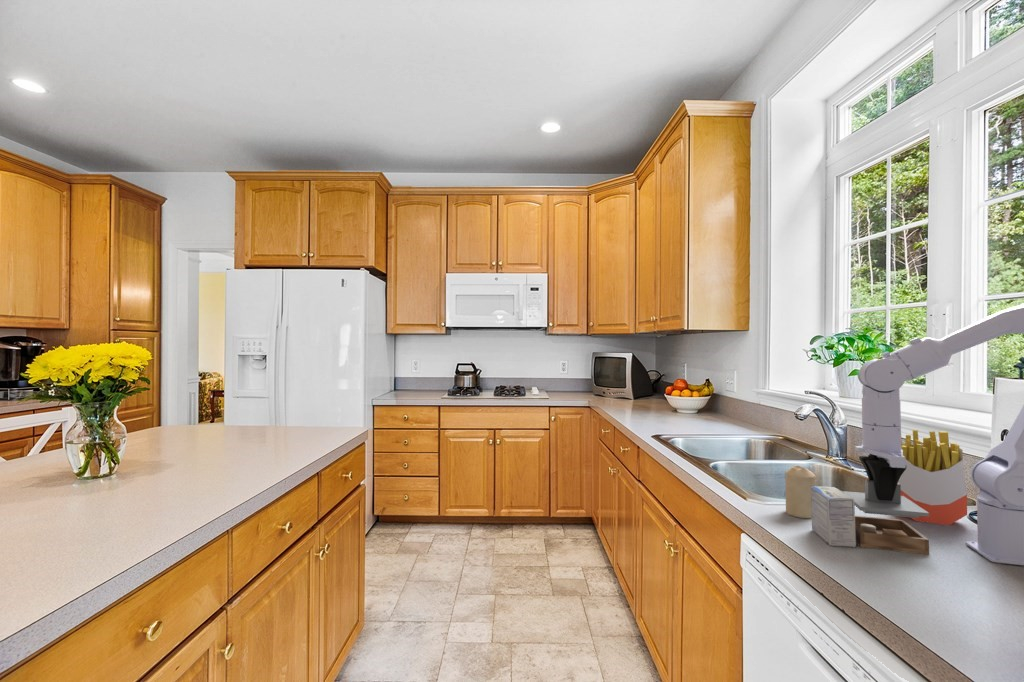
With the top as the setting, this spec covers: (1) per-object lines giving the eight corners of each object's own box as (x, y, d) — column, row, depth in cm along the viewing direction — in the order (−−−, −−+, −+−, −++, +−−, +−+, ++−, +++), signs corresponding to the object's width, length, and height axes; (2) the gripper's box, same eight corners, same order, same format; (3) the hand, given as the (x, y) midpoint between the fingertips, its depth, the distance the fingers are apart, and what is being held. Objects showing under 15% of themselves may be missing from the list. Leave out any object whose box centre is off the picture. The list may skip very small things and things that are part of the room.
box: (903, 533, 93) (903, 519, 93) (929, 554, 83) (929, 539, 83) (842, 527, 96) (842, 514, 96) (860, 547, 87) (860, 533, 87)
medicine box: (856, 548, 86) (855, 499, 86) (828, 546, 87) (828, 497, 87) (836, 531, 94) (835, 486, 94) (810, 530, 95) (810, 485, 95)
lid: (903, 502, 93) (903, 477, 93) (929, 520, 83) (928, 492, 83) (842, 497, 96) (842, 473, 96) (860, 514, 87) (860, 487, 87)
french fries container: (968, 528, 95) (966, 435, 95) (898, 519, 100) (897, 431, 100) (959, 520, 99) (958, 432, 99) (893, 512, 104) (892, 428, 104)
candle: (822, 518, 101) (821, 470, 101) (796, 519, 101) (796, 470, 101) (804, 509, 107) (803, 463, 107) (780, 510, 106) (779, 464, 106)
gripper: (843, 417, 98) (844, 485, 98) (870, 429, 84) (871, 508, 84) (885, 419, 96) (886, 488, 96) (919, 431, 82) (921, 512, 82)
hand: (882, 498), depth 90 cm, fingers closed on lid
